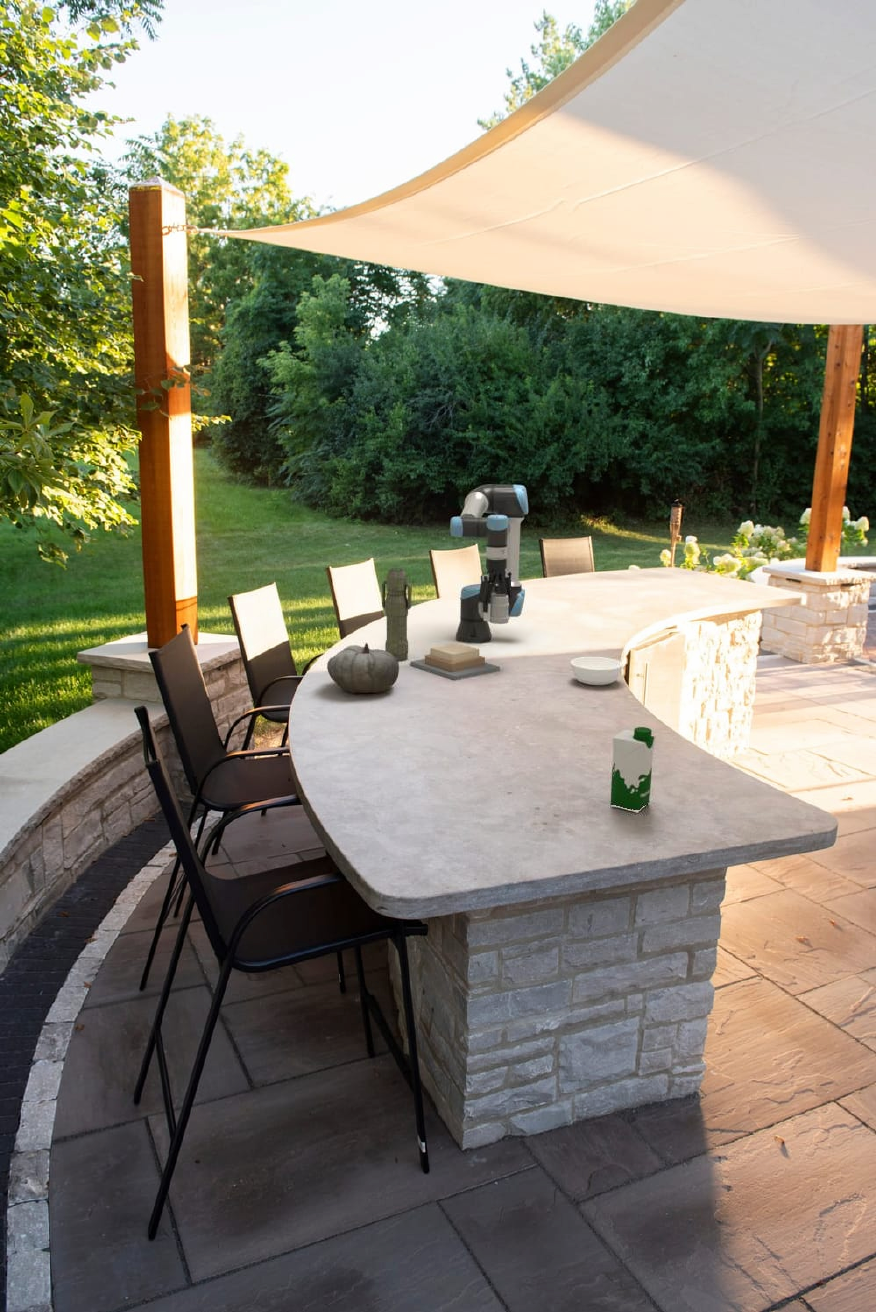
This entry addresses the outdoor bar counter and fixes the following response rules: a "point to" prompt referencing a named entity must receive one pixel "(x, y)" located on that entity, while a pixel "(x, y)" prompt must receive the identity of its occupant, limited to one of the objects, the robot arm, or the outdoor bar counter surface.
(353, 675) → the gourd
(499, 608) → the mug
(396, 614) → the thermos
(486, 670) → the plinth board
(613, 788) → the milk carton
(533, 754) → the outdoor bar counter surface
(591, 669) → the bowl
